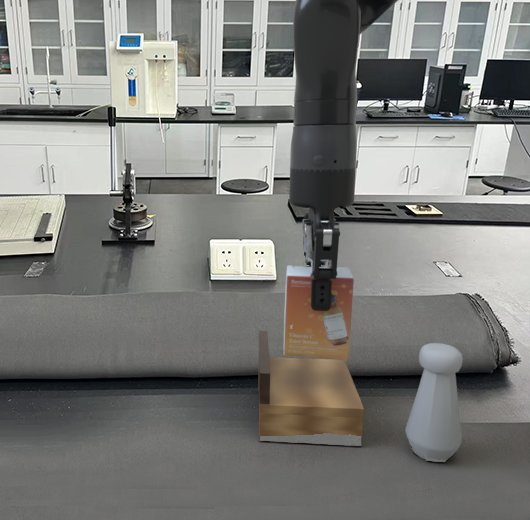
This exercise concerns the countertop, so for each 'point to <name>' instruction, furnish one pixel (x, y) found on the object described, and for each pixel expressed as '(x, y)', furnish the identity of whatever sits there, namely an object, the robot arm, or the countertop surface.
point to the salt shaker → (436, 404)
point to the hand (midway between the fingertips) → (317, 301)
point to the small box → (317, 316)
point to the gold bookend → (306, 396)
